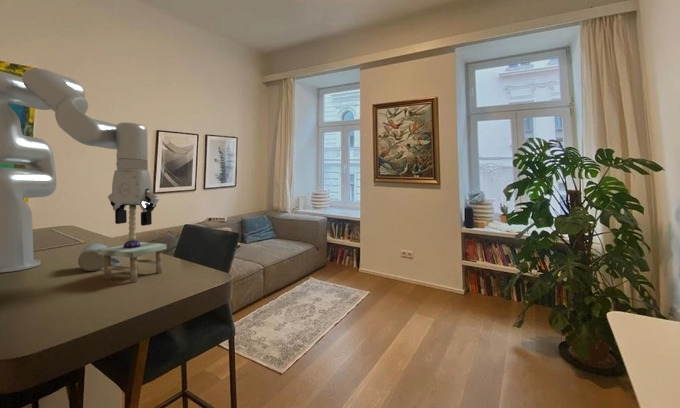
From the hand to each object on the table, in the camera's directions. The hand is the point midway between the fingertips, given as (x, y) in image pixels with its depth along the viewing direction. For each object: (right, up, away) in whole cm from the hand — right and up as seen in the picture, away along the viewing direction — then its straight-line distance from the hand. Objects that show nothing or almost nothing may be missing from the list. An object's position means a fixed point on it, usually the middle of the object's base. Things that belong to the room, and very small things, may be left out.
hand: (133, 224), depth 88 cm
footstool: (0, -16, +1) cm, 16 cm away
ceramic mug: (-17, -15, +8) cm, 24 cm away
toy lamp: (0, -7, 0) cm, 7 cm away
